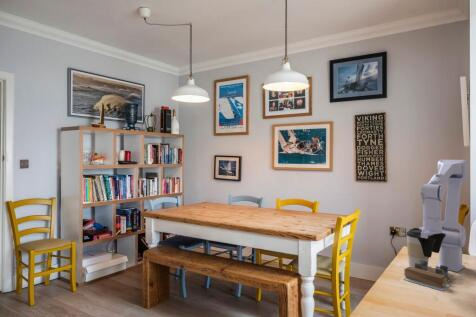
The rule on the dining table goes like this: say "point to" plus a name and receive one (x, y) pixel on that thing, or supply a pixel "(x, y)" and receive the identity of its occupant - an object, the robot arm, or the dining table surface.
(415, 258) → the coffee cup
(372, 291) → the dining table surface
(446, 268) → the stand
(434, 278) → the rail
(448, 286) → the mat
